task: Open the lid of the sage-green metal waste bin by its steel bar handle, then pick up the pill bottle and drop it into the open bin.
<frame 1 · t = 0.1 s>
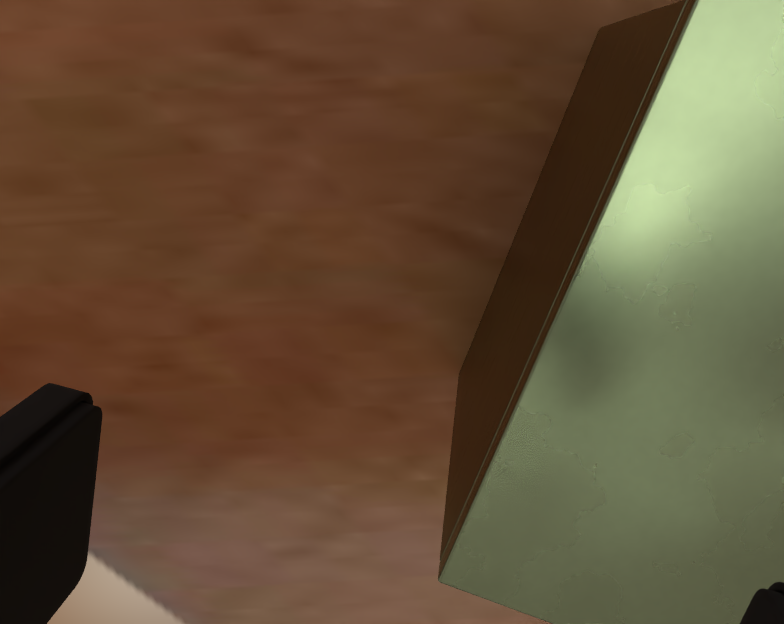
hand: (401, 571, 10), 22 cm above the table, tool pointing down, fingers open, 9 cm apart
waste bin: (682, 270, 30), on the table
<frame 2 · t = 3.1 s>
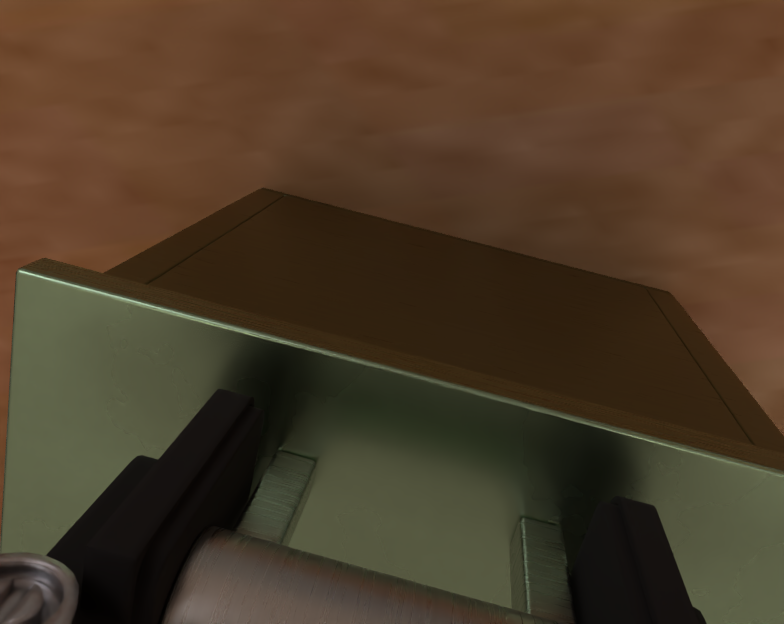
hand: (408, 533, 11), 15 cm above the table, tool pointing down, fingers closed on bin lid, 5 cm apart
waste bin: (412, 425, 27), on the table
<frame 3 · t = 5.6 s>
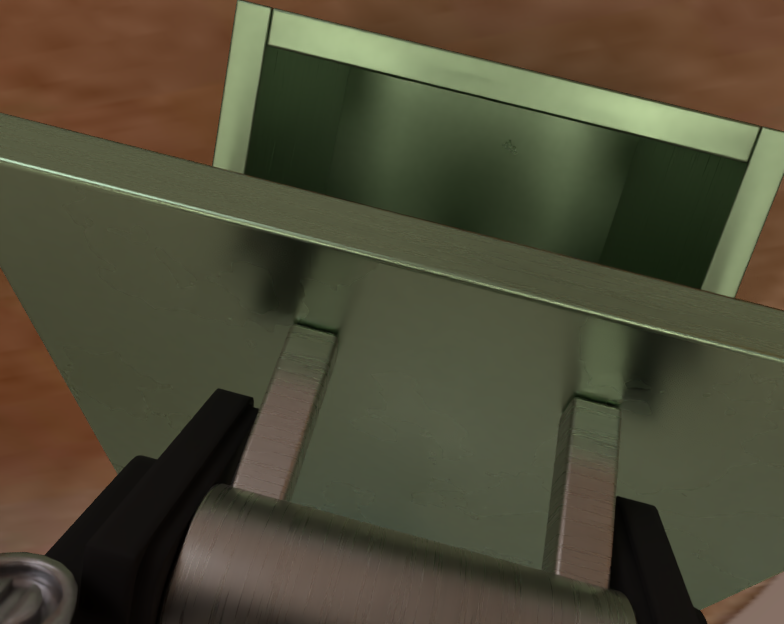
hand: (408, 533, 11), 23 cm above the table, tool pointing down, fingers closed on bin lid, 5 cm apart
waste bin: (456, 243, 33), on the table
bin lid: (383, 594, 14), point 20 cm above the table, hinge at 38.0°, touching gripper
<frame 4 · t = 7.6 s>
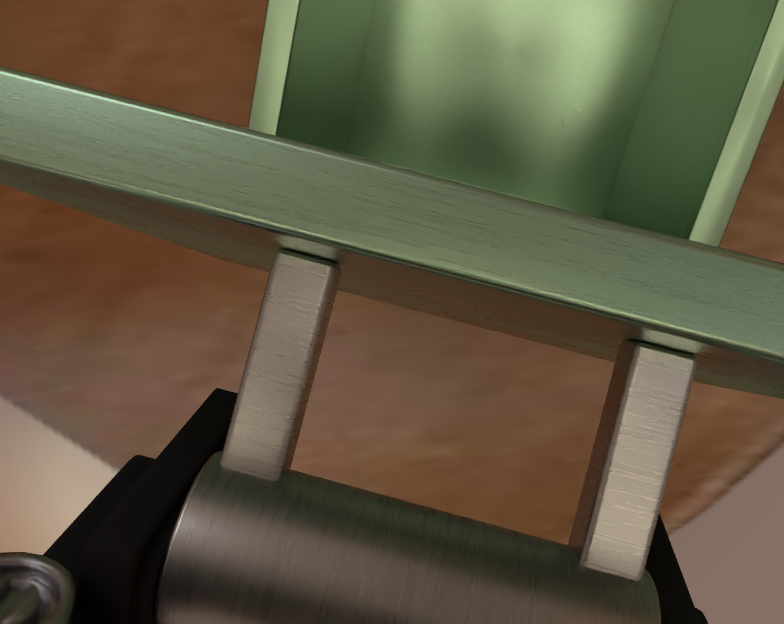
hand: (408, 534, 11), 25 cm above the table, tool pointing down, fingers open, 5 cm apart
waste bin: (507, 53, 32), on the table
bin lid: (433, 405, 14), point 22 cm above the table, hinge at 69.9°
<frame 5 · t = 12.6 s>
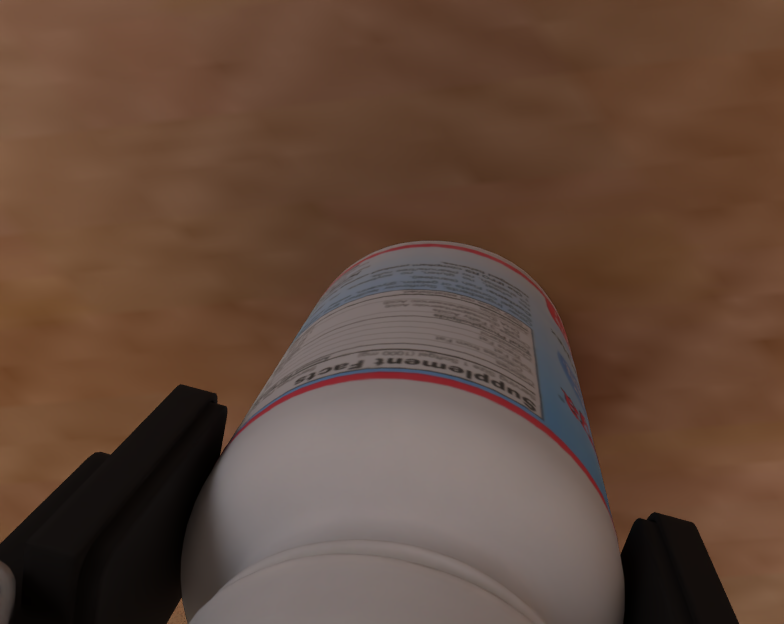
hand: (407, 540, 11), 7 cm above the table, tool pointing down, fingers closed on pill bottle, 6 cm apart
pill bottle: (437, 350, 18), on the table, touching gripper
when the fingers open (18 cm above the table, at t = 19.2 s): pill bottle drops 10 cm, resting on waste bin.
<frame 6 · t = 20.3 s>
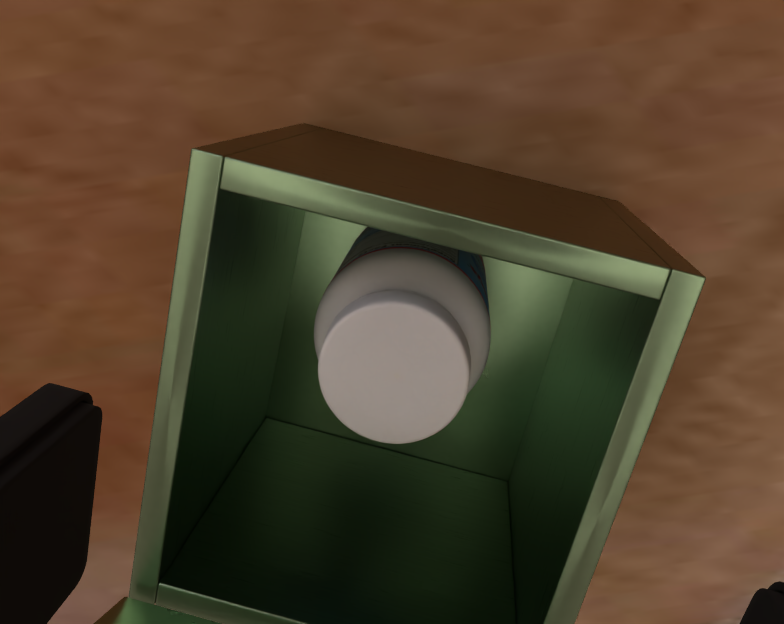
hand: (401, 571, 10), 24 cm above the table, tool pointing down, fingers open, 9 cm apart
waste bin: (419, 318, 34), on the table
pill bottle: (416, 272, 33), point 1 cm above the table, touching waste bin
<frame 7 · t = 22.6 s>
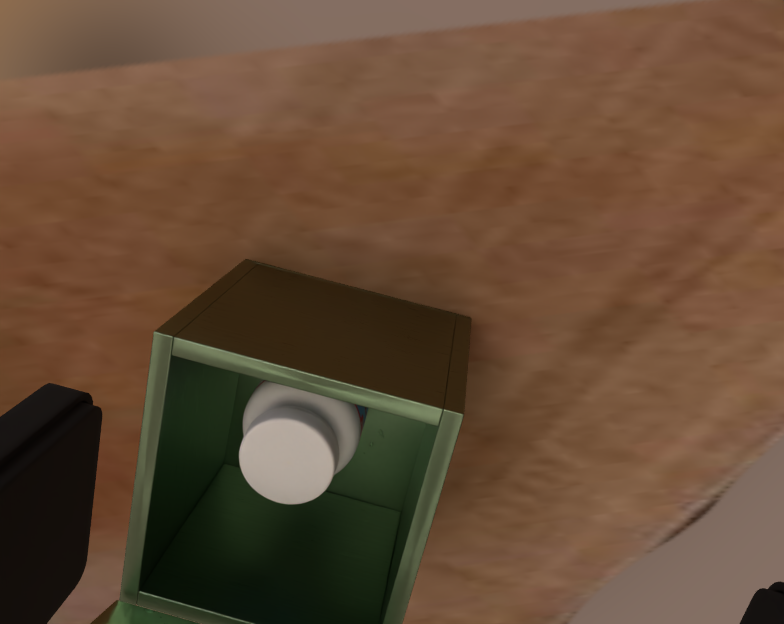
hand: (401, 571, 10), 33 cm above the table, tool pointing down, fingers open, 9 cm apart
waste bin: (335, 393, 47), on the table
pill bottle: (329, 363, 45), point 1 cm above the table, touching waste bin
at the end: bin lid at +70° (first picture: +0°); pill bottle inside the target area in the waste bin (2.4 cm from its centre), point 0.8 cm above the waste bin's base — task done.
